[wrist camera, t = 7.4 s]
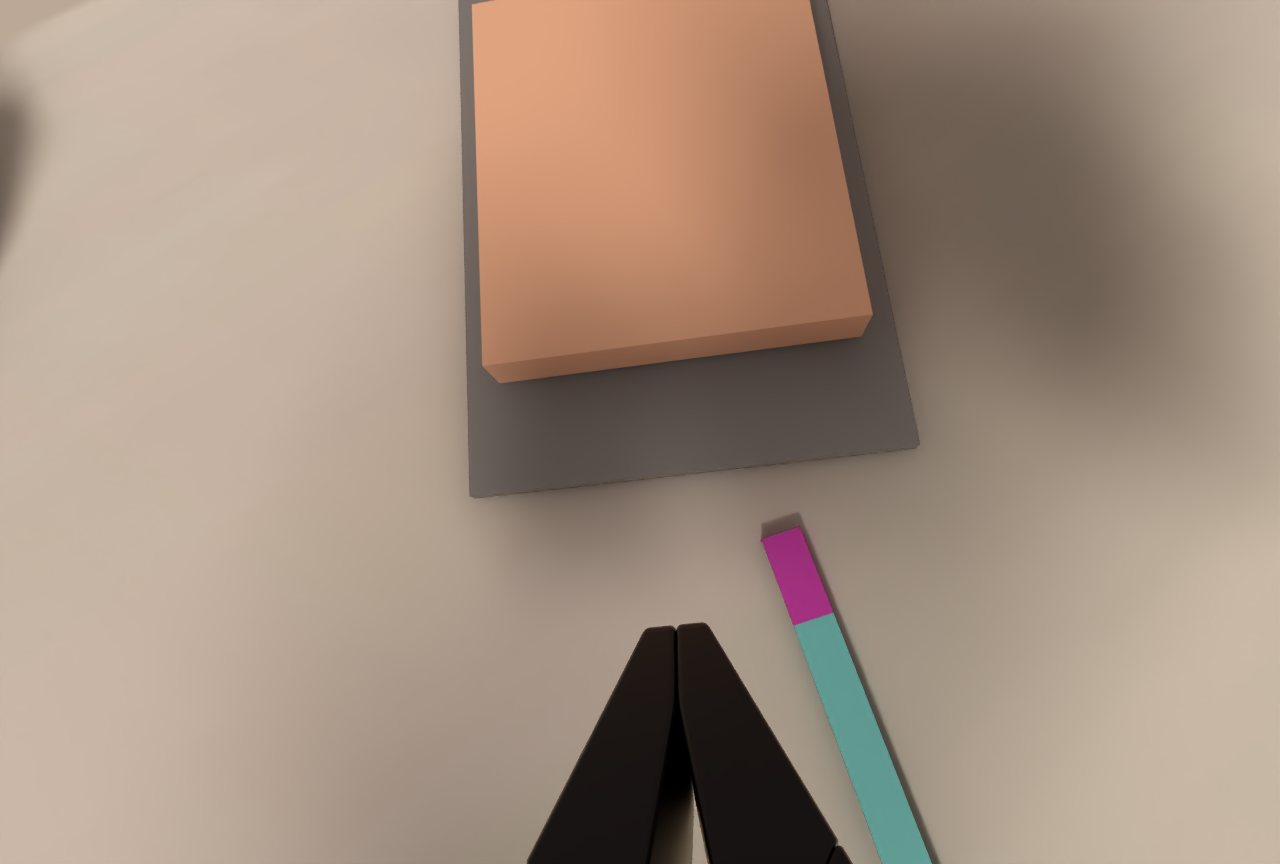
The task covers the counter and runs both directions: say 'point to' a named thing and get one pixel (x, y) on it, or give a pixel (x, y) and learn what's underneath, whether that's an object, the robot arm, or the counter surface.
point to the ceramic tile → (656, 185)
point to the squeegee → (845, 702)
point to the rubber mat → (686, 372)
